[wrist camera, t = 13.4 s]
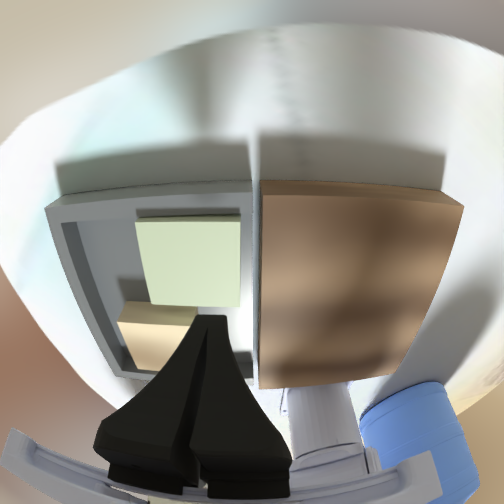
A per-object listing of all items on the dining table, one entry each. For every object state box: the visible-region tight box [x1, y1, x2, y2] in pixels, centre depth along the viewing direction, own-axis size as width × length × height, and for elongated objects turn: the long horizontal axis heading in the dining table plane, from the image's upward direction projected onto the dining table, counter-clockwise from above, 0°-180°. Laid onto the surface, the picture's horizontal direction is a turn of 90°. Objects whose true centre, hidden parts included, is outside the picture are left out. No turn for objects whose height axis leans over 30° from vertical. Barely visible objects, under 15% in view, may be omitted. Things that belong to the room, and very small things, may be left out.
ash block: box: [117, 301, 199, 371], centre depth 21 cm, size 6×6×2 cm
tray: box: [45, 180, 253, 385], centre depth 20 cm, size 18×14×2 cm
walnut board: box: [258, 180, 464, 389], centre depth 20 cm, size 18×14×3 cm
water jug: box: [359, 382, 480, 504], centre depth 23 cm, size 16×16×28 cm
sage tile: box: [135, 213, 241, 307], centre depth 17 cm, size 6×6×2 cm
